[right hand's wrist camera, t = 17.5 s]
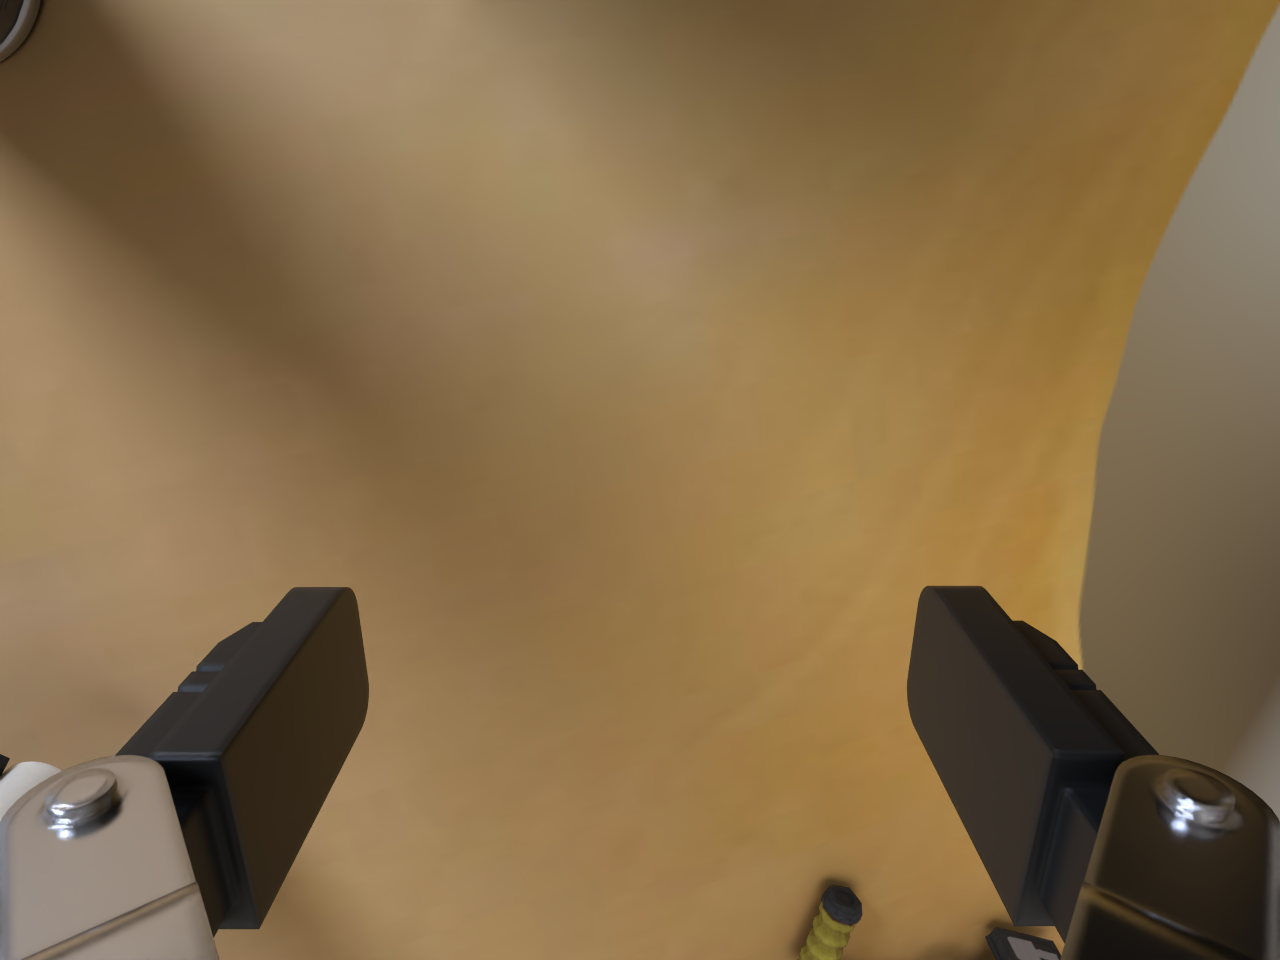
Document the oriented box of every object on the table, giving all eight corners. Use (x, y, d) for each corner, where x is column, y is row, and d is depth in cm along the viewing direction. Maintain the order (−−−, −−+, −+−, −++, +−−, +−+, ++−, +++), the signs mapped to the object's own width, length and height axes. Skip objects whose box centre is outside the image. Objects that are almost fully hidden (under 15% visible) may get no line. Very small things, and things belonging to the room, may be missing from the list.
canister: (15, 825, 41) (-52, 894, 37) (-11, 763, 39) (-82, 827, 35) (91, 821, 41) (33, 889, 37) (68, 758, 39) (5, 822, 35)
